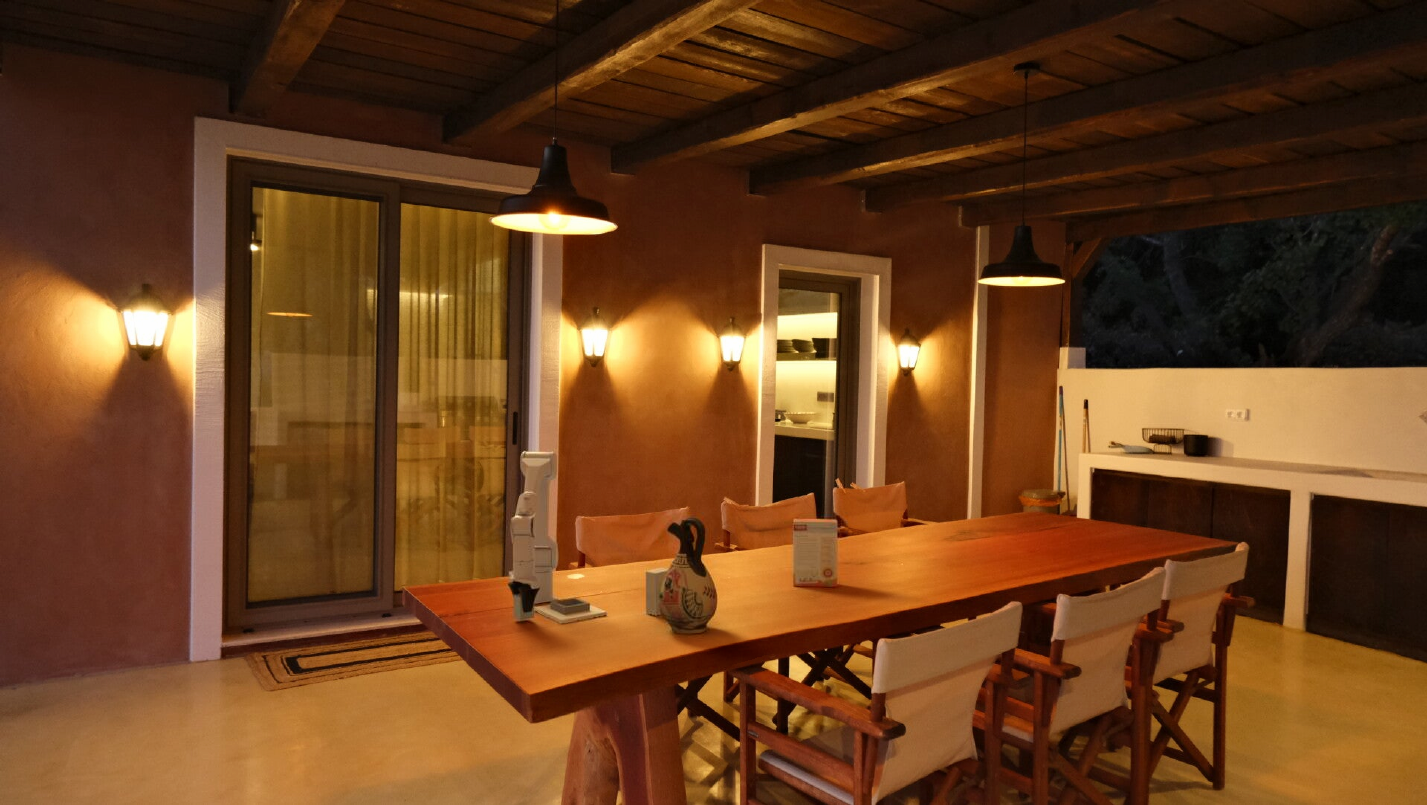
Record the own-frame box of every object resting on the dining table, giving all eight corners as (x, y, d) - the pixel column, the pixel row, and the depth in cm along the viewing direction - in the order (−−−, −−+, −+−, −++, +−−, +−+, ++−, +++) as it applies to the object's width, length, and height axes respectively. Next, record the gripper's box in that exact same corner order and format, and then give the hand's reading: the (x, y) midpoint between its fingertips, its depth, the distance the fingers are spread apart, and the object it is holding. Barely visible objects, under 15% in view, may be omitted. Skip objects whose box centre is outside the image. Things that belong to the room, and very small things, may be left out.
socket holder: (534, 610, 249) (534, 600, 249) (578, 603, 258) (578, 593, 258) (561, 623, 237) (561, 612, 237) (606, 615, 245) (606, 604, 245)
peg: (513, 616, 239) (513, 594, 239) (527, 614, 242) (527, 592, 241) (520, 620, 236) (520, 597, 236) (533, 617, 238) (534, 595, 238)
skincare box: (659, 609, 252) (660, 567, 252) (670, 612, 250) (671, 569, 249) (644, 613, 248) (645, 570, 247) (656, 616, 245) (656, 573, 245)
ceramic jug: (645, 629, 232) (646, 515, 231) (689, 618, 243) (690, 509, 242) (690, 643, 220) (691, 523, 219) (733, 631, 231) (734, 516, 230)
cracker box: (836, 583, 286) (837, 518, 285) (837, 588, 280) (838, 521, 279) (792, 582, 287) (793, 517, 286) (792, 586, 281) (793, 520, 280)
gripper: (498, 556, 241) (498, 606, 242) (522, 566, 230) (522, 618, 231) (522, 553, 246) (522, 602, 246) (546, 563, 234) (546, 614, 235)
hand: (523, 610), depth 239 cm, fingers closed on peg, 4 cm apart
